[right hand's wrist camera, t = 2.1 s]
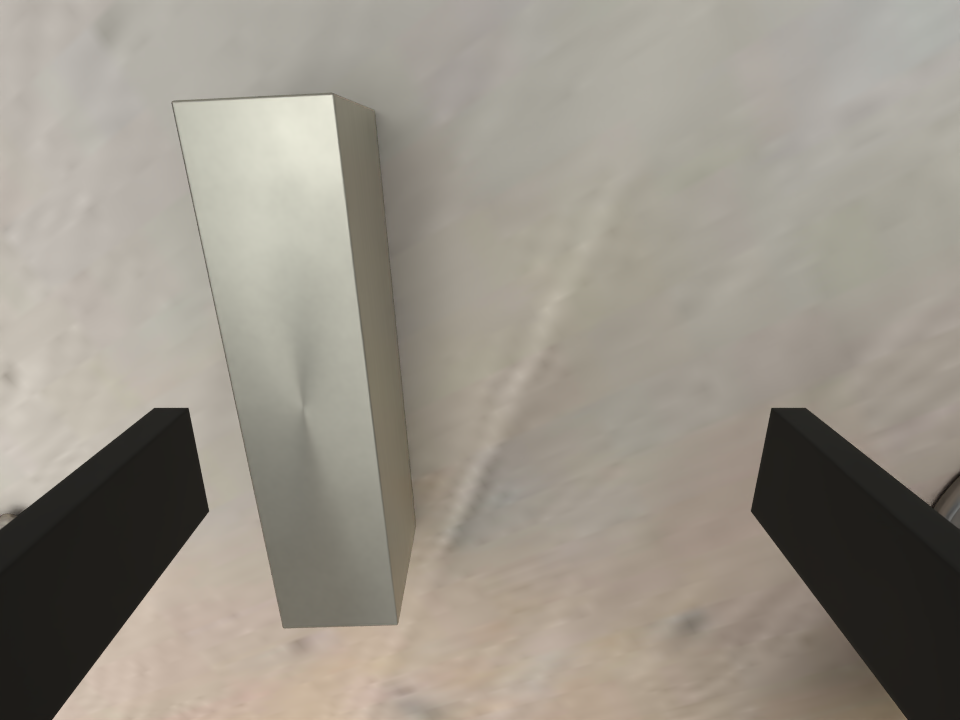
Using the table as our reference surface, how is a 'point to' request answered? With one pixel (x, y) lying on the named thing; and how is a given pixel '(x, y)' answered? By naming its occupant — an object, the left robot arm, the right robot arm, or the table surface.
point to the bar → (309, 343)
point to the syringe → (6, 519)
